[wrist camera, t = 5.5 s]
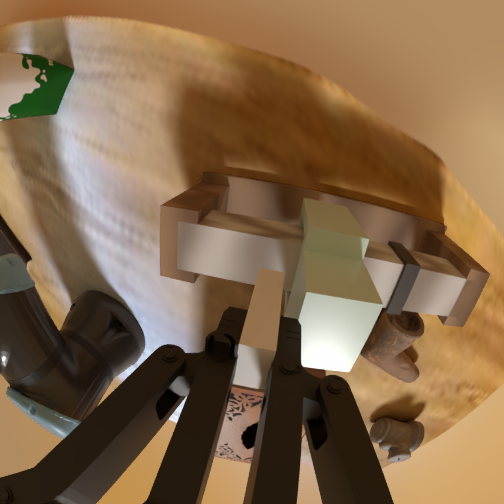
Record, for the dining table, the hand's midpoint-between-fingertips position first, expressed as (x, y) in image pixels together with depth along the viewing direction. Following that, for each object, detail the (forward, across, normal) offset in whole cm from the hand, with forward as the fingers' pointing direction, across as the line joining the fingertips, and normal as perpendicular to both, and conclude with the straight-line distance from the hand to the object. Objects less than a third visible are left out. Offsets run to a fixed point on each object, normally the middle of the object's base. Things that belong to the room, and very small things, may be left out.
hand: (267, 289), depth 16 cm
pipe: (+15, -21, +14) cm, 30 cm away
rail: (+15, -6, 0) cm, 16 cm away
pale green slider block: (+10, -4, 0) cm, 10 cm away
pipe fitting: (+15, -34, +38) cm, 53 cm away
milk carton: (+15, +35, -16) cm, 41 cm away
